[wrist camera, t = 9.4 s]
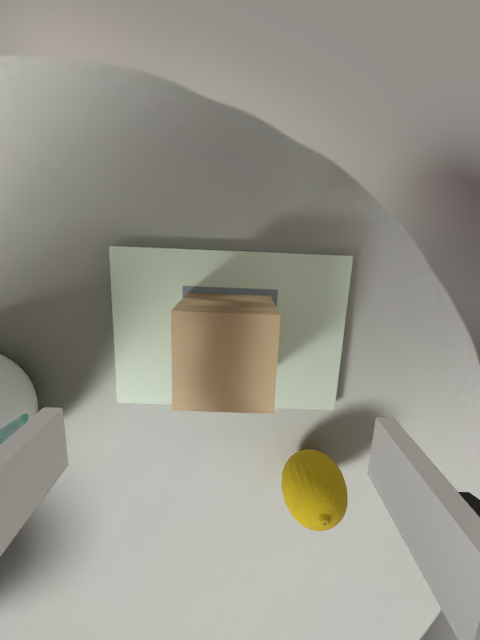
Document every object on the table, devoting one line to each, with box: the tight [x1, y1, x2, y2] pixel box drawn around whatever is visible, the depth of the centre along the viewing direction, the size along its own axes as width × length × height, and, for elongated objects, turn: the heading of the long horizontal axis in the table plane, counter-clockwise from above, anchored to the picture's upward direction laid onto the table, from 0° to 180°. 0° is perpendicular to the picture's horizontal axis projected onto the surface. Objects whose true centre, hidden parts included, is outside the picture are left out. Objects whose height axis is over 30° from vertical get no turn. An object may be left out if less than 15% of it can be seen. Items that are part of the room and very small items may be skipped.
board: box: [109, 246, 353, 410], centre depth 29 cm, size 20×14×1 cm
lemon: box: [282, 449, 347, 531], centre depth 29 cm, size 6×6×8 cm
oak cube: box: [171, 293, 281, 414], centre depth 25 cm, size 7×7×7 cm
